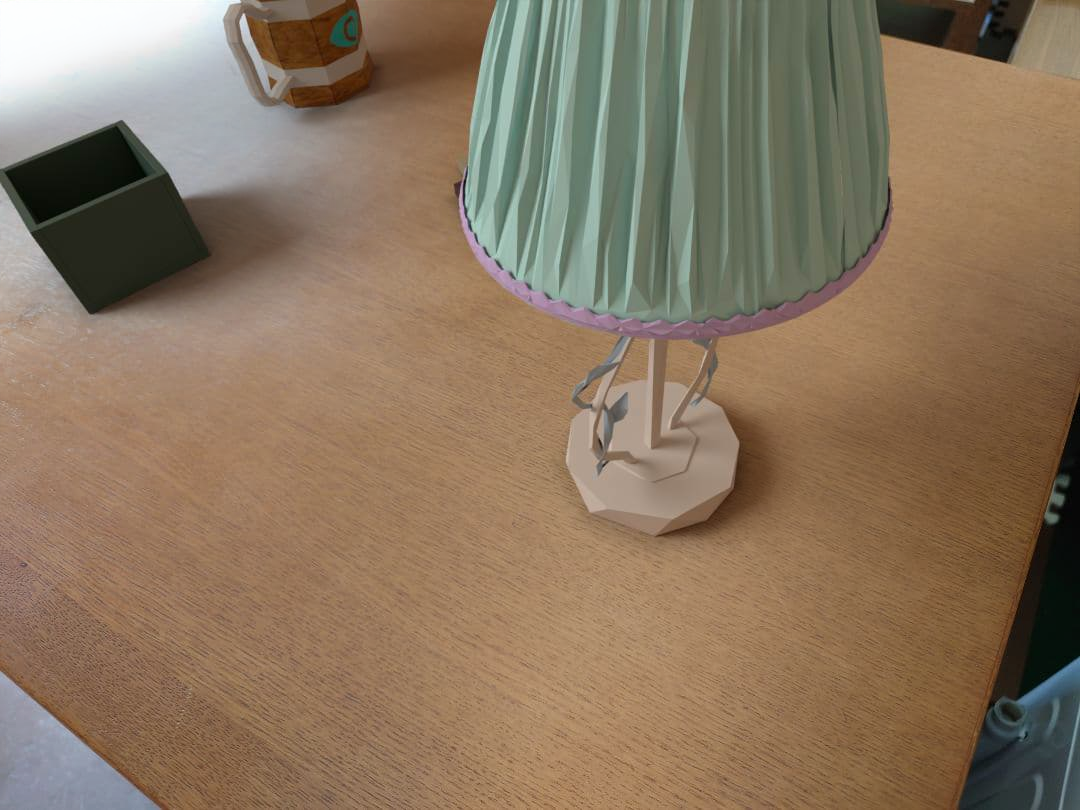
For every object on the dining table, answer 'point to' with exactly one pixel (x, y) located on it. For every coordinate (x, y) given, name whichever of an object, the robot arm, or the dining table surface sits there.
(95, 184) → the trash bin
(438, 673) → the dining table surface
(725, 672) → the dining table surface
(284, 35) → the mug
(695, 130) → the table lamp
